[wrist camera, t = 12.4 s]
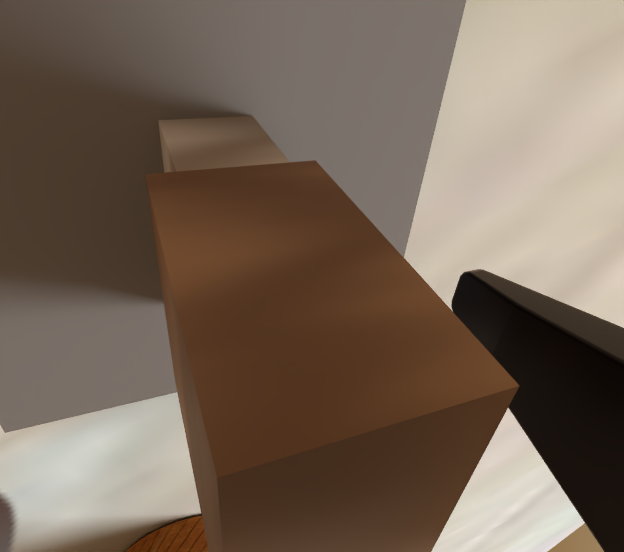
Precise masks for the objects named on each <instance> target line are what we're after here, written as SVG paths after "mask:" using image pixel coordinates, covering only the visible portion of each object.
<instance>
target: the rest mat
mask: <svg viewBox="0 0 624 552" xmlns="http://www.w3.org/2000/svg"><path fill="white" fill-rule="evenodd" d="M465 3H466V0H0V425H1V426H2V428H3V430H4V432H5V433H6V432H10V431H14V430H19V429H23V428H27V427H31V426H36V425H40V424H44V423H48V422H52V421H57V420H61V419H65V418H69V417H74V416H78V415H82V414H86V413H91V412H95V411H99V410H103V409H108V408H112V407H116V406H120V405H124V404H129V403H133V402H137V401H141V400H146V399H150V398H154V397H158V396H163V395H167V394H171V393H175V392H177V387H176V382H175V377H174V370H173V363H172V357H171V350H170V343H169V336H168V329H167V322H166V315H165V308H164V302H163V295H162V288H161V281H160V274H159V267H158V260H157V254H156V247H155V240H154V233H153V226H152V219H151V212H150V205H149V199H148V192H147V185H146V178H145V174H154V173H164V166H163V157H162V149H161V140H160V132H159V123H158V120H173V119H195V118H218V117H240V116H253V117H254V118H255V119H256V121H257V122H258V123H259V124H260V126H261V127H262V128H263V129H264V131H265V132H266V133H267V134H268V136H269V137H270V138H271V139H272V141H273V142H274V143H275V144H276V146H277V147H278V148H279V149H280V151H281V152H282V153H283V154H284V156H285V157H286V158H287V159H288V161H289V162H301V161H313V160H316V161H317V163H318V164H319V165H320V166H321V167H322V168H323V169H324V170H325V171H326V172H327V174H328V175H329V176H330V177H331V178H332V179H333V180H334V181H335V182H336V184H337V185H338V186H339V187H340V188H341V189H342V190H343V191H344V192H345V193H346V195H347V196H348V197H349V198H350V199H351V200H352V201H353V202H354V203H355V204H356V206H357V207H358V208H359V209H360V210H361V211H362V212H363V213H364V214H365V216H366V217H367V218H368V219H369V220H370V221H371V222H372V223H373V224H374V225H375V227H376V228H377V229H378V230H379V231H380V232H381V233H382V234H383V235H384V237H385V238H386V239H387V240H388V241H389V242H390V243H391V244H392V245H393V246H394V248H395V249H396V250H397V251H398V252H399V253H400V254H401V255H402V256H403V258H404V254H405V250H406V246H407V242H408V237H409V233H410V229H411V225H412V221H413V217H414V213H415V209H416V205H417V200H418V196H419V192H420V188H421V184H422V180H423V176H424V172H425V168H426V163H427V159H428V155H429V151H430V147H431V143H432V139H433V135H434V131H435V126H436V122H437V118H438V114H439V110H440V106H441V102H442V98H443V93H444V89H445V85H446V81H447V77H448V73H449V69H450V65H451V61H452V56H453V52H454V48H455V44H456V40H457V36H458V32H459V28H460V24H461V19H462V15H463V11H464V7H465Z"/></svg>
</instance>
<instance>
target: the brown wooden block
mask: <svg viewBox="0 0 624 552" xmlns="http://www.w3.org/2000/svg"><path fill="white" fill-rule="evenodd" d="M158 123H159V132H160V140H161V149H162V157H163V166H164V173H154V174H145V178H146V185H147V192H148V199H149V205H150V212H151V219H152V226H153V233H154V240H155V247H156V254H157V260H158V267H159V274H160V281H161V288H162V295H163V302H164V308H165V315H166V322H167V329H168V336H169V343H170V350H171V357H172V363H173V370H174V377H175V382H176V387H177V392H178V398H179V403H180V408H181V413H182V418H183V423H184V428H185V433H186V438H187V443H188V448H189V453H190V458H191V463H192V468H193V473H194V478H195V483H196V488H197V493H198V498H199V503H200V508H201V514H202V519H203V524H204V529H205V534H206V539H207V544H208V549H209V552H431V551H432V549H433V547H434V545H435V543H436V541H437V540H438V538H439V536H440V534H441V532H442V530H443V528H444V526H445V525H446V523H447V521H448V519H449V517H450V515H451V513H452V511H453V510H454V508H455V506H456V504H457V502H458V500H459V498H460V496H461V495H462V493H463V491H464V489H465V487H466V485H467V483H468V482H469V480H470V478H471V476H472V474H473V472H474V470H475V468H476V467H477V465H478V463H479V461H480V459H481V457H482V455H483V453H484V452H485V450H486V448H487V446H488V444H489V442H490V440H491V438H492V437H493V435H494V433H495V431H496V429H497V427H498V425H499V423H500V422H501V420H502V418H503V416H504V414H505V412H506V410H507V408H508V407H509V405H510V403H511V401H512V399H513V397H514V395H515V393H516V392H517V390H518V388H519V385H518V383H517V382H516V381H515V380H514V379H513V378H512V377H511V376H510V375H509V374H508V372H507V371H506V370H505V369H504V368H503V367H502V366H501V365H500V364H499V362H498V361H497V360H496V359H495V358H494V357H493V356H492V355H491V354H490V353H489V351H488V350H487V349H486V348H485V347H484V346H483V345H482V344H481V343H480V341H479V340H478V339H477V338H476V337H475V336H474V335H473V334H472V333H471V332H470V330H469V329H468V328H467V327H466V326H465V325H464V324H463V323H462V322H461V320H460V319H459V318H458V317H457V316H456V315H455V314H454V313H453V312H452V311H451V309H450V308H449V307H448V306H447V305H446V304H445V303H444V302H443V301H442V299H441V298H440V297H439V296H438V295H437V294H436V293H435V292H434V291H433V290H432V288H431V287H430V286H429V285H428V284H427V283H426V282H425V281H424V280H423V279H422V277H421V276H420V275H419V274H418V273H417V272H416V271H415V270H414V269H413V267H412V266H411V265H410V264H409V263H408V262H407V261H406V260H405V259H404V258H403V256H402V255H401V254H400V253H399V252H398V251H397V250H396V249H395V248H394V246H393V245H392V244H391V243H390V242H389V241H388V240H387V239H386V238H385V237H384V235H383V234H382V233H381V232H380V231H379V230H378V229H377V228H376V227H375V225H374V224H373V223H372V222H371V221H370V220H369V219H368V218H367V217H366V216H365V214H364V213H363V212H362V211H361V210H360V209H359V208H358V207H357V206H356V204H355V203H354V202H353V201H352V200H351V199H350V198H349V197H348V196H347V195H346V193H345V192H344V191H343V190H342V189H341V188H340V187H339V186H338V185H337V184H336V182H335V181H334V180H333V179H332V178H331V177H330V176H329V175H328V174H327V172H326V171H325V170H324V169H323V168H322V167H321V166H320V165H319V164H318V163H317V161H316V160H313V161H301V162H289V161H288V159H287V158H286V157H285V156H284V154H283V153H282V152H281V151H280V149H279V148H278V147H277V146H276V144H275V143H274V142H273V141H272V139H271V138H270V137H269V136H268V134H267V133H266V132H265V131H264V129H263V128H262V127H261V126H260V124H259V123H258V122H257V121H256V119H255V118H254V117H253V116H240V117H218V118H195V119H173V120H158Z"/></svg>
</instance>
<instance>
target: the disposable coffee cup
mask: <svg viewBox="0 0 624 552" xmlns="http://www.w3.org/2000/svg"><path fill="white" fill-rule="evenodd" d="M126 552H209V549H208V544H207V539H206V534H205V529H204V524H203V519H202V516H197V517H192V518H189V519H185V520H181V521H178V522H175V523H172V524H170V525H167V526H165V527H163V528H161V529H158V530H156V531H154V532H152V533H151V534H149V535H147V536H145V537H144V538H142V539H141V540H139V541H138V542H137V543H135V544H134V545H132V546H131V547H130V548H129V549H128V550H127V551H126Z"/></svg>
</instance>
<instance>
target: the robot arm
mask: <svg viewBox="0 0 624 552" xmlns="http://www.w3.org/2000/svg"><path fill="white" fill-rule="evenodd" d="M452 310H453V313H454V314H455V315H456V316H457V317H458V318H459V319H460V320H461V322H462V323H463V324H464V325H465V326H466V327H467V328H468V329H469V330H470V332H471V333H472V334H473V335H474V336H475V337H476V338H477V339H478V340H479V341H480V343H481V344H482V345H483V346H484V347H485V348H486V349H487V350H488V351H489V353H490V354H491V355H492V356H493V357H494V358H495V359H496V360H497V361H498V362H499V364H500V365H501V366H502V367H503V368H504V369H505V370H506V371H507V372H508V374H509V375H510V376H511V377H512V378H513V379H514V380H515V381H516V382H517V383H518V385H519V388H518V390H517V392H516V393H515V395H514V397H513V399H512V401H511V403H510V405H509V407H508V408H509V409H510V411H511V412H512V414H513V415H514V417H515V418H516V420H517V421H518V423H519V424H520V426H521V427H522V429H523V430H524V432H525V433H526V435H527V436H528V438H529V439H530V441H531V442H532V444H533V445H534V447H535V448H536V450H537V451H538V453H539V454H540V456H541V457H542V459H543V460H544V462H545V463H546V465H547V466H548V468H549V469H550V471H551V472H552V474H553V475H554V477H555V478H556V480H557V481H558V483H559V484H560V486H561V487H562V489H563V490H564V492H565V493H566V495H567V496H568V498H569V500H570V501H571V503H572V504H573V506H574V507H575V509H576V510H577V512H578V513H579V515H580V516H581V518H582V519H583V521H584V522H585V524H586V525H587V526H588V528H589V530H590V531H591V533H592V534H593V536H594V537H595V539H596V540H597V542H598V543H599V544H600V546H601V548H602V549H603V550H604V552H624V328H622V327H620V326H618V325H615V324H613V323H610V322H608V321H606V320H603V319H601V318H598V317H596V316H593V315H591V314H589V313H586V312H584V311H581V310H579V309H577V308H574V307H572V306H569V305H567V304H565V303H562V302H560V301H557V300H555V299H552V298H550V297H548V296H545V295H543V294H540V293H538V292H536V291H533V290H531V289H528V288H526V287H524V286H521V285H519V284H516V283H514V282H511V281H509V280H507V279H504V278H502V277H499V276H497V275H495V274H492V273H490V272H487V271H485V270H481V269H477V270H472V271H467V272H464V273H463V274H462V275H461V276H460V279H459V282H458V284H457V287H456V290H455V293H454V296H453V299H452Z"/></svg>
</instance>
